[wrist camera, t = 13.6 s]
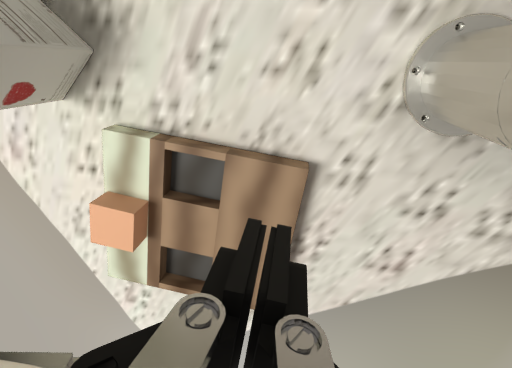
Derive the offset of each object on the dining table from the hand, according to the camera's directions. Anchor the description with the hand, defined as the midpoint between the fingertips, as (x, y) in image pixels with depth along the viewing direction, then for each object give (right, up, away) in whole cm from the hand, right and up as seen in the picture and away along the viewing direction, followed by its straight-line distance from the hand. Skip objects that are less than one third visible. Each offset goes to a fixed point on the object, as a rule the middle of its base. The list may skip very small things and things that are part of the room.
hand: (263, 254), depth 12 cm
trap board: (-8, -3, +34) cm, 35 cm away
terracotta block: (-19, -2, +32) cm, 37 cm away
